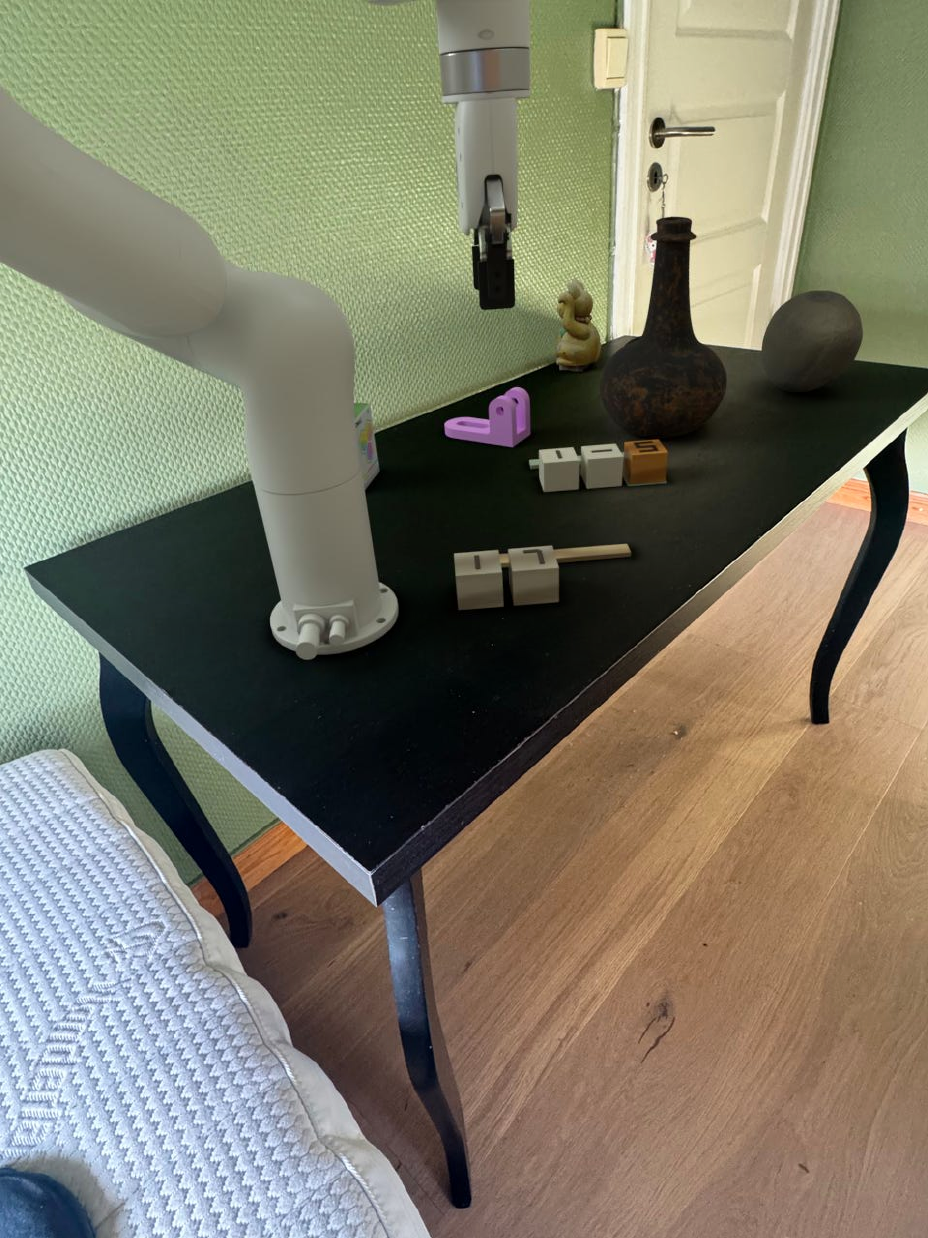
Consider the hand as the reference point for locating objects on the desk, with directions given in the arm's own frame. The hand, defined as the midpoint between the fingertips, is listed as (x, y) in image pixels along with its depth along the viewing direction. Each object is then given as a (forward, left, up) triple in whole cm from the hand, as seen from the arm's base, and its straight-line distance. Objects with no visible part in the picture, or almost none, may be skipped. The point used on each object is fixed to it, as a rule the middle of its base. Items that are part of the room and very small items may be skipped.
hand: (493, 297), depth 73 cm
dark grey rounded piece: (+42, -52, -26) cm, 72 cm away
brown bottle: (+31, -26, -26) cm, 48 cm away
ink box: (+20, +18, -26) cm, 38 cm away
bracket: (+34, 0, -26) cm, 43 cm away
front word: (-9, -4, -26) cm, 28 cm away
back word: (+17, -14, -26) cm, 34 cm away
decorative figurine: (+66, -20, -26) cm, 74 cm away
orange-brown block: (+14, -20, -26) cm, 35 cm away
